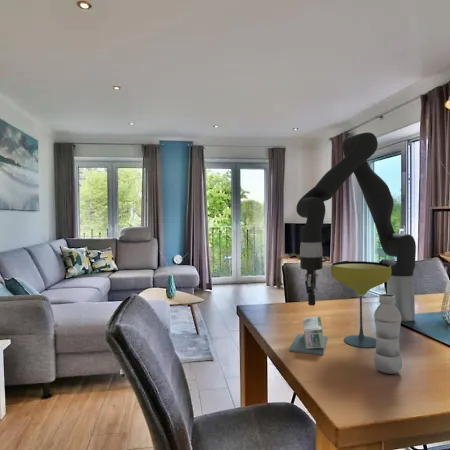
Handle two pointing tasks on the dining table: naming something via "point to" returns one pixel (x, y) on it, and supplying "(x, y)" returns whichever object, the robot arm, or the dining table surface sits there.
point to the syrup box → (313, 333)
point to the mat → (300, 346)
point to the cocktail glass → (361, 288)
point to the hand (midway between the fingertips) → (311, 304)
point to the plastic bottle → (387, 335)
